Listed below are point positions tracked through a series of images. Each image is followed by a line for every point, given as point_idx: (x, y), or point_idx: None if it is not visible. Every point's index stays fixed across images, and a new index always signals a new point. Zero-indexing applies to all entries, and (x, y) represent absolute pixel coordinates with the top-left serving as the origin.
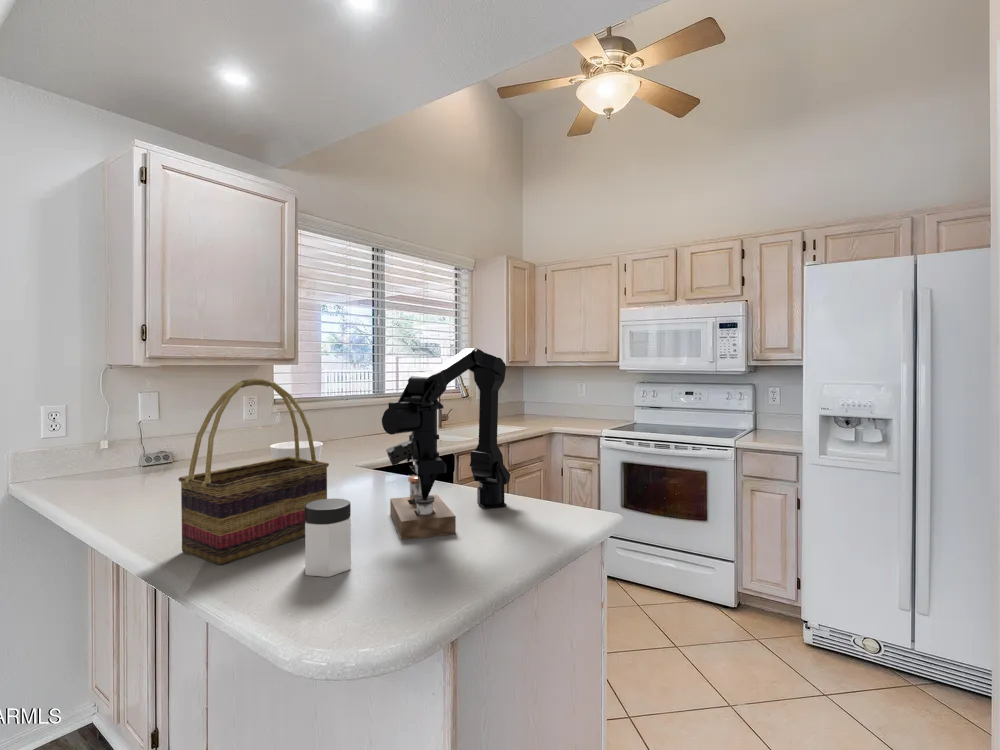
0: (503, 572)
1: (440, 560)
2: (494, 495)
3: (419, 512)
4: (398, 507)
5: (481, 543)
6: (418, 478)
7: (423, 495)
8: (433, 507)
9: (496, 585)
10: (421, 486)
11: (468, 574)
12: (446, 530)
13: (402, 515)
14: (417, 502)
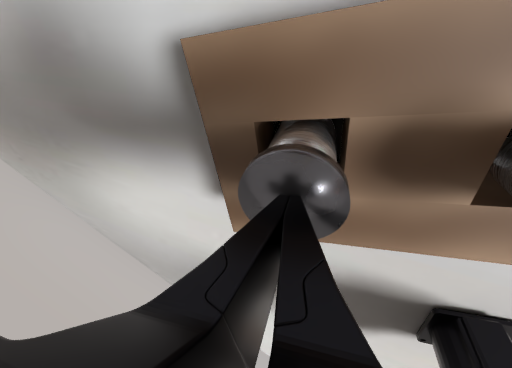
0: (83, 205)
1: (94, 133)
2: (440, 359)
3: (273, 140)
4: (501, 15)
5: (188, 220)
6: (280, 295)
7: (270, 205)
8: (363, 206)
9: (43, 185)
10: (230, 240)
11: (58, 163)
12: None
13: (278, 47)
14: (260, 153)
